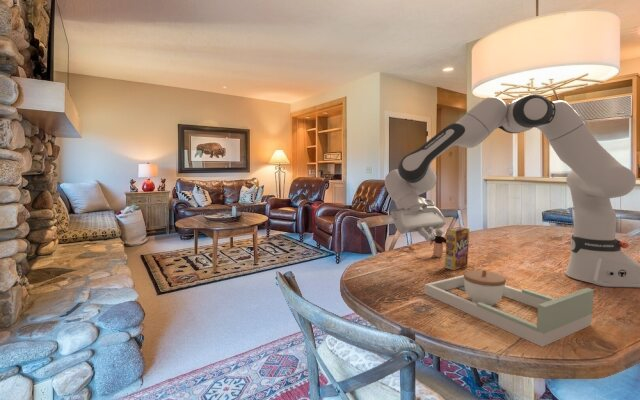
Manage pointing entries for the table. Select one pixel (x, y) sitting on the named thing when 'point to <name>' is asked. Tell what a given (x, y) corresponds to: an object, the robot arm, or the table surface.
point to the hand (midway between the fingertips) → (431, 239)
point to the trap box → (441, 293)
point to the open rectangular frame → (553, 310)
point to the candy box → (457, 248)
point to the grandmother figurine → (438, 243)
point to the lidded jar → (484, 286)
